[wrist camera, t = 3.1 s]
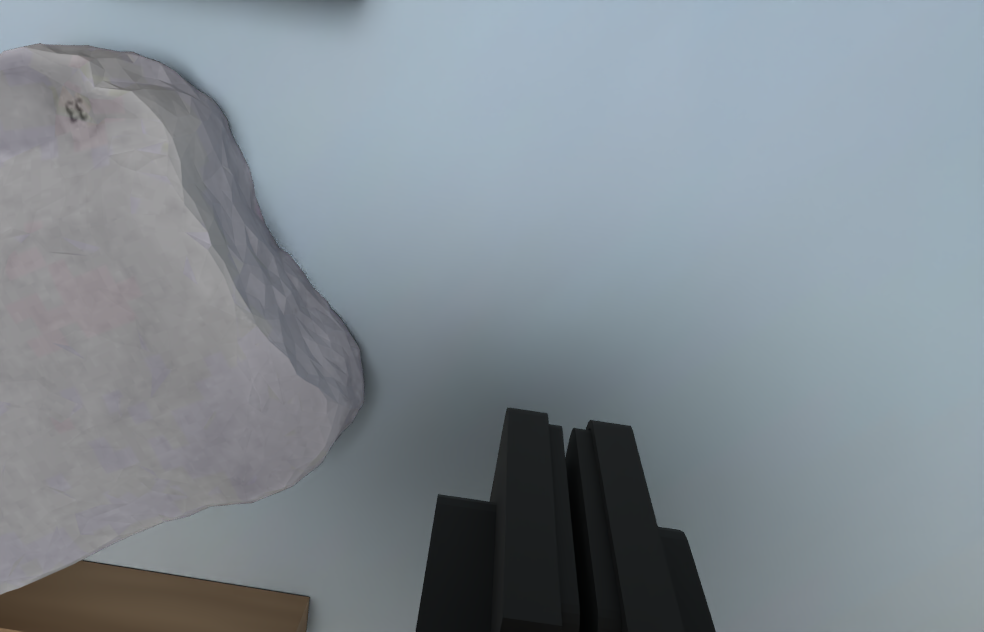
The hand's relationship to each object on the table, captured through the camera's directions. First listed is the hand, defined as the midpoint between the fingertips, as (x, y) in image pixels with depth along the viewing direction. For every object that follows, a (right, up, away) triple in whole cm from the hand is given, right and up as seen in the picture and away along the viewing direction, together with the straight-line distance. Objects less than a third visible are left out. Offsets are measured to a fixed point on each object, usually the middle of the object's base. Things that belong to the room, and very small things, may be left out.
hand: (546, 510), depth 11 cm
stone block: (-10, +3, +7) cm, 13 cm away
